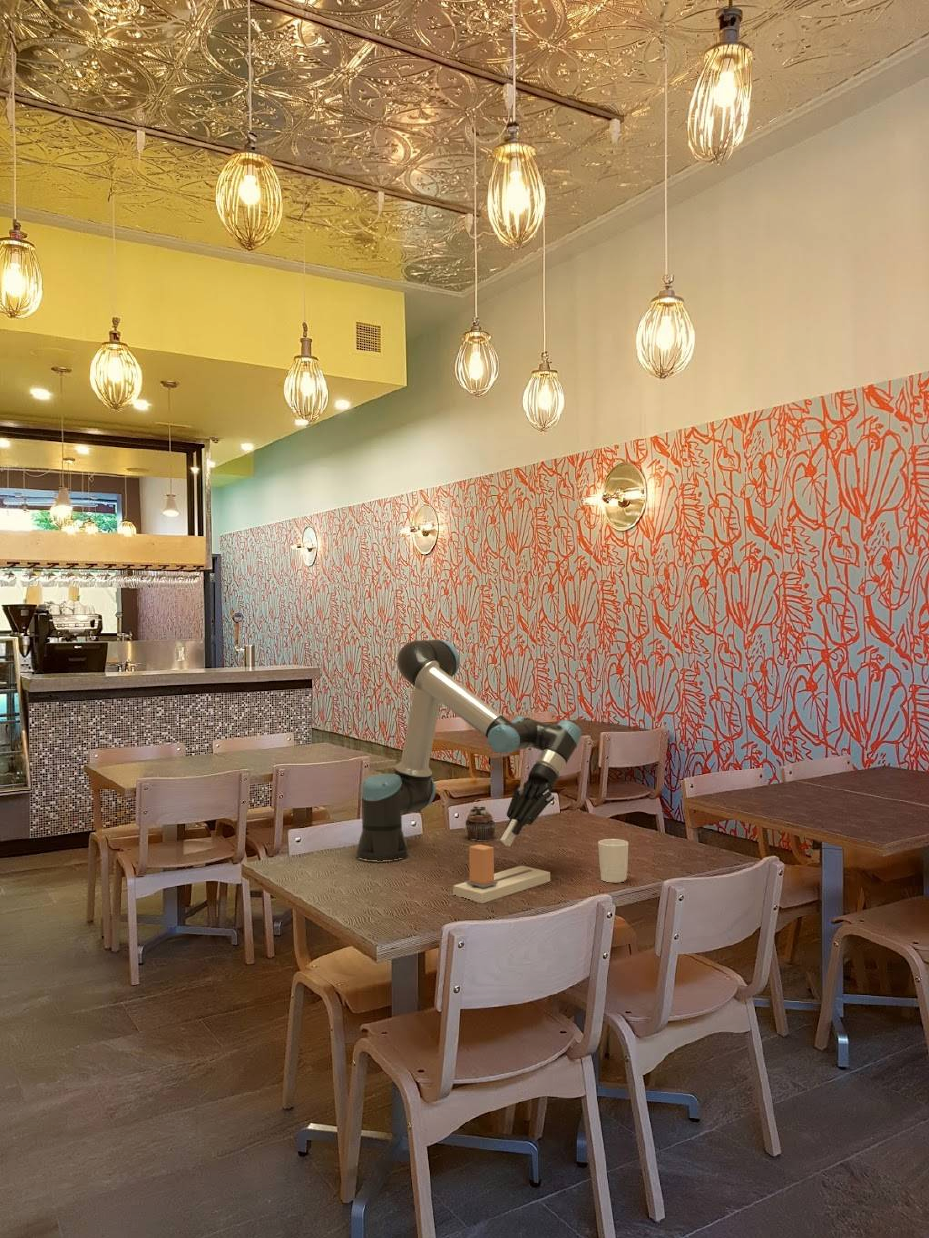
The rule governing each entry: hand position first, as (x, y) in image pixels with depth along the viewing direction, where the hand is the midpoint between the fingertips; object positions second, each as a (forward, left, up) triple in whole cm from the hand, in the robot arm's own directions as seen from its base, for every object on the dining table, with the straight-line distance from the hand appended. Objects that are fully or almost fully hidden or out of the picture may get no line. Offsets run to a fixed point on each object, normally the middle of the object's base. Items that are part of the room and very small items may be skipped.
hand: (505, 843), depth 232 cm
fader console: (0, -1, -11) cm, 11 cm away
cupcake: (-55, +9, -12) cm, 57 cm away
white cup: (+2, +29, -12) cm, 31 cm away
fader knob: (+4, -8, -9) cm, 12 cm away
